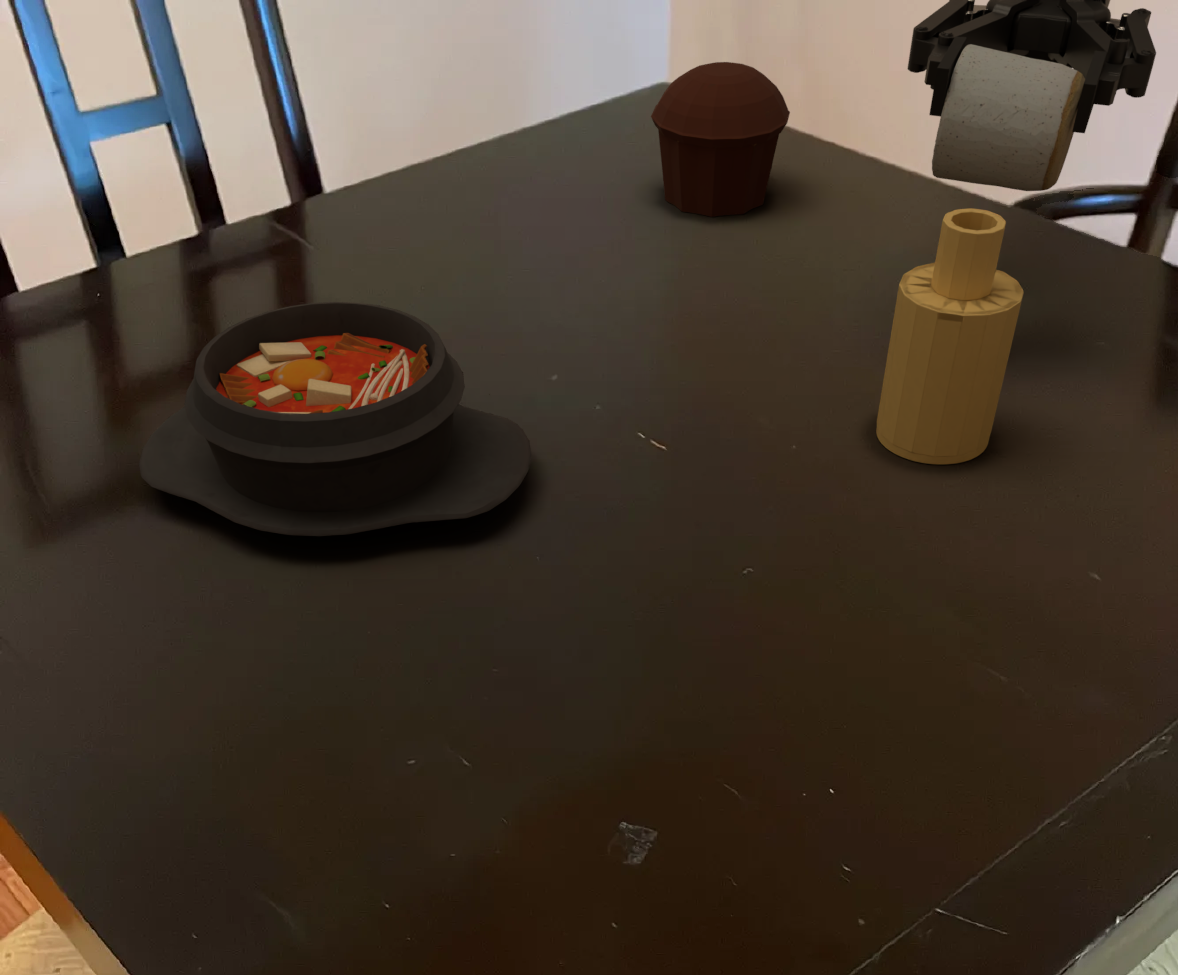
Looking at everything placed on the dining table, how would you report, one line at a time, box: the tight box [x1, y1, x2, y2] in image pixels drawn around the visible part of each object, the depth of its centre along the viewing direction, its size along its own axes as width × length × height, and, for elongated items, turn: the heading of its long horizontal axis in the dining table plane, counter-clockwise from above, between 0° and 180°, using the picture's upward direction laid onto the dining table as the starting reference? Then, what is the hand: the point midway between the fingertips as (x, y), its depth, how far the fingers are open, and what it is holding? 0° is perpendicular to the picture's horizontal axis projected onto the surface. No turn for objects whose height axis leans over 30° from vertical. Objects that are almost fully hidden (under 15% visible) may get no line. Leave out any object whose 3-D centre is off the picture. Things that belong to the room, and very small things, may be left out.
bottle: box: [875, 208, 1024, 465], centre depth 84 cm, size 7×7×14 cm
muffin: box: [650, 61, 791, 218], centre depth 114 cm, size 12×11×10 cm
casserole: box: [138, 301, 532, 537], centre depth 83 cm, size 25×19×8 cm
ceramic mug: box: [931, 44, 1085, 192], centre depth 87 cm, size 11×8×8 cm
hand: (1010, 100), depth 83 cm, fingers closed on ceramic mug, 8 cm apart
